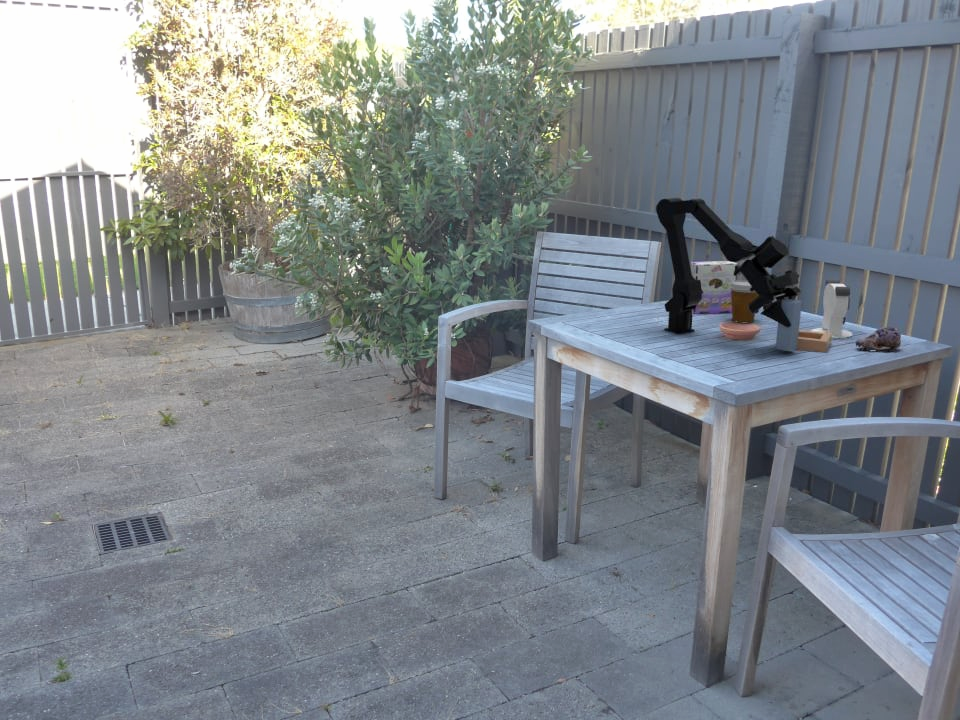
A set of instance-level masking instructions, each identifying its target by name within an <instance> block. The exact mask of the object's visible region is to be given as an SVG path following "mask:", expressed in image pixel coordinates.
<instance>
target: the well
mask: <svg viewBox="0 0 960 720" xmlns="http://www.w3.org/2000/svg"><path fill="white" fill-rule="evenodd" d="M832 339H833V338H832V333H823V332H814V331H811V330H804V329H803V330H802V329H799V333H798V342H797V349H796V350H800V351H809V352H818V353H827V351H828V349H829V348H830V346H831V344H832Z"/></svg>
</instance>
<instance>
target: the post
mask: <svg viewBox="0 0 960 720" xmlns="http://www.w3.org/2000/svg"><path fill="white" fill-rule="evenodd" d="M802 303H803V301H802V300H797V299H794V300H792V299H785V300H782V301H781V308H782V310H783V311H784V313H785V315H786V317H787V318H788V320H789V322H790V324H791V326H790V327H788V328H787V327H785V326H784V325H782V324H780V323H778V322H777V329H776V330H777V331H776V341H775V349H777V350H783V351H787V352H791V351H793V350H798V349H797V342H798V333H799V330H800V322H801V313H802Z"/></svg>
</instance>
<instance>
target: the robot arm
mask: <svg viewBox="0 0 960 720" xmlns="http://www.w3.org/2000/svg"><path fill="white" fill-rule="evenodd" d="M655 212H656V215H657V218H658V221H659V223H660V224H661V226H662V227H663V229H664V230H665V232H666V236H667V241H668V248H669V254H670V259H671V264H672V268H673V274H674V281H673V285H672V290H671V293H672V295H671V296H672V297H671V298H670V299H669V300H668V301H667V302H666V303H665V304H664V308H665V312H667V313H668V321H667V324H668V326H667V327H664V331H667V332H671V333H675V334H678V335H679V334H681V335H682V334H686V333H691V332H693V333H695V329H694V328H692V327H693V315H694V314H693V313H692V310H695V309H696V306H697V304H698V303H699V302H700V300H701V299H702V293H703V291H702V288H701V281H700V280H695V279H694V277H693V276H692V273H691V263H690V259H689V253H688V247H687V242H686V237H685V231H684V225H685V220H686V217H687V215H686V214H691V215H692V217H694V219H696V220H697V222H699V224H700V225H702V227H704V229H705V230H706V231H707V232H708V233H709V234H710V235H711V236H712V237H713V238H714V239H715V241H716V242H717V243H718V246H719V249H720V252H721V253H722V255H723V256H724V258H725V259H726V261H730V262H735V263H738V262H743V263H741V264H738V265H737V266H735V270H734V274H733V275H734V276H737V277H738V276H741V275H742V276H743V277H744V279H745V281H748V282H749V284H750V285H751V288H750V291H751V292H754V291H755V292H756V294H757V295H758V297H757V298H756V299H755V300H753V301H752V302H751V303H750V304H749V306H748V310H749V311H750V312H751V314H752V315H753V314H755V315H757V314H758V313H759V312H760V311H759V310H761V308H762V309H763V311H761V312H760V315H762V316H764V317H767V318H769V319H771V320H773V321H775V322H777V324H778V323H780V324H782V325H784V326H785V327H787V328H788V327H790V326H791V324H790V322H789V320H788V318H787V317H786V315H785V313H784V311H783V310H782V308H781V301H782V300H785V299H792V300H796V298H797V297H798V296H799V295H800V294H802V291H801V289H800V288H799V287H798V286H795V285H797V284H799V283H800V282H799V278H800V274H799V273H797V271H795V269H793V268H792V269H789V270H786V271H785V272H784V274H783V275H779V276H777V275H776V274H775V273H774V274H773V273H772V274H770V272H769V271H768V270H767V268H768V269H773V268H774V267H775V266H777V265H778V264H779V263H780V262H781V261H782V260H783V259H785V257H787V256H788V255H789V254H790V253H789V249H788V246H786V244H785V243H783V242H781V240H778V239H776V238H775V236H774V235H770V236H767V238H766V239H765V240H764V241H763V242H762V243H761V244H759V245H755V244H753V243H752V242H751V241H750V240H749V239H747V238H746V237H745V236H743V235H742V234H739V233H737V232H735V231H733V230H732V229H731V228H730V227H729V226H728V225H727V223H725V222H724V221H723V220H722V219H721V218H720V217H719V215H717V214H716V213H715V212H714V211H713V210H712V209H711V208H710V207H709V206H708V205H707V204H706V201H705V200H704V199H702V198H692V199H687V200H684V199H681V198H679V197H669V198H662V199H660V200H659V201H658V203H657V204H656V206H655ZM750 258H751V259H750Z"/></svg>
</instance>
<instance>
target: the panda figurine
mask: <svg viewBox="0 0 960 720" xmlns="http://www.w3.org/2000/svg"><path fill="white" fill-rule="evenodd" d="M824 286H825V287H824V293H823V299H822V305H823V306H822V307H823V317H822V323H821V327H817V328H813V329H811V330H810V331H814V332H823V333H832V339H839V338H840V339H848V338H847V337H849V338H851V337H850V336H852V337H853V332H852V331H851V332H850V331H848V330H845V329H843V326H844V325H845V323H846V318H847V317H846V314H847V312H848V311H849V310H850V302H851V301H850V295H851V287H850V286H846V285H845V284H844V283H840V280H826V281H825V285H824ZM840 339H839V340H840Z"/></svg>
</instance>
